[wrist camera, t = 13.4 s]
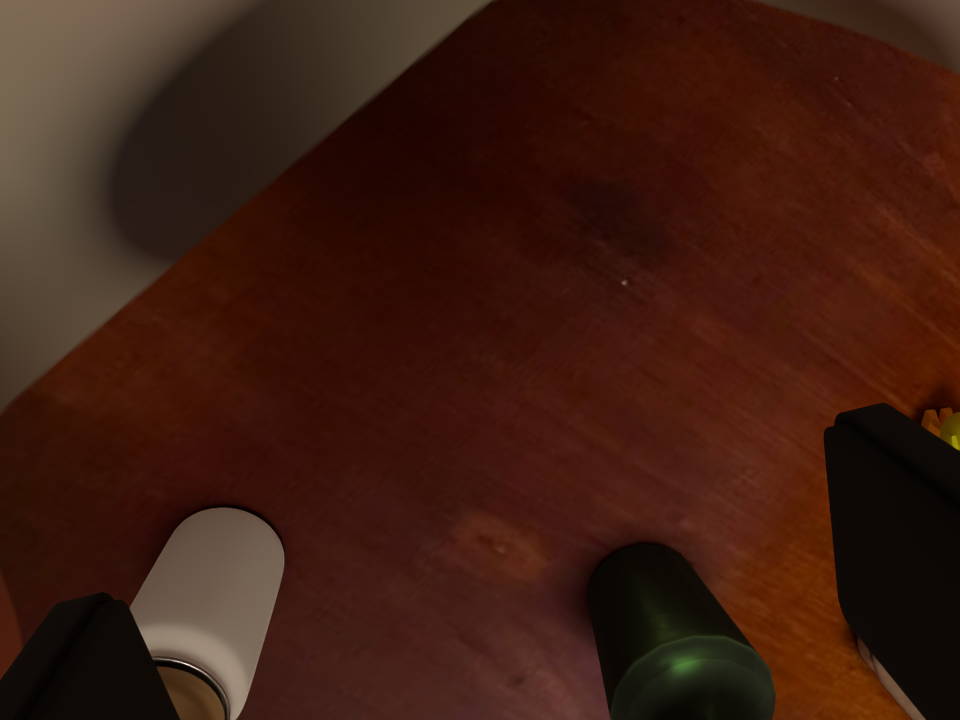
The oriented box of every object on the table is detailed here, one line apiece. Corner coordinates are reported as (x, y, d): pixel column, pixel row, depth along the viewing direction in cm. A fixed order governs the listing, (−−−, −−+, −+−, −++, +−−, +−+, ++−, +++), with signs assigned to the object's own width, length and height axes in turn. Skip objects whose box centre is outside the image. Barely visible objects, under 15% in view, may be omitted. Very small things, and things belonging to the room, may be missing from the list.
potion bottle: (601, 514, 45) (712, 770, 28) (728, 546, 46) (909, 809, 29) (554, 629, 47) (630, 931, 30) (676, 657, 48) (816, 961, 31)
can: (273, 612, 45) (225, 785, 34) (160, 591, 44) (69, 761, 33) (297, 517, 43) (254, 665, 32) (179, 492, 42) (91, 635, 31)
